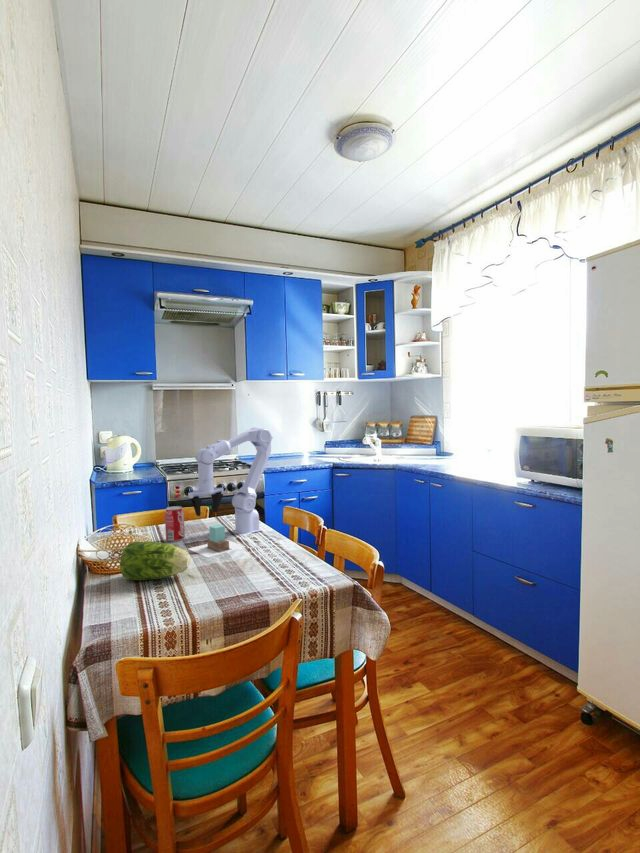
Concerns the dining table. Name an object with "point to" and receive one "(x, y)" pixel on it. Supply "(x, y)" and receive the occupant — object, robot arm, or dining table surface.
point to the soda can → (174, 524)
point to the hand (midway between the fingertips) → (207, 513)
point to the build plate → (210, 552)
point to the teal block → (217, 533)
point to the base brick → (218, 545)
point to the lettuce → (152, 560)
